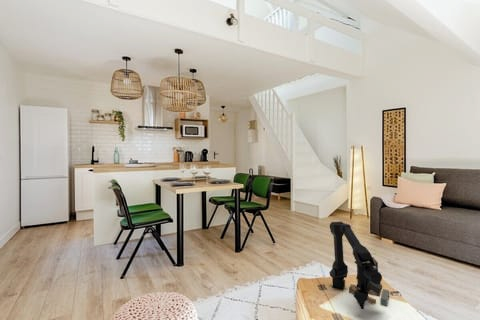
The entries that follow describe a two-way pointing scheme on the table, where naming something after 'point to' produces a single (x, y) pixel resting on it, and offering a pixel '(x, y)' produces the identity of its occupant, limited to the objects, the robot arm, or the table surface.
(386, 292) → the grey bracket bar
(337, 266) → the robot arm
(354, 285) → the base
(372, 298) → the bar
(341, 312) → the table surface
